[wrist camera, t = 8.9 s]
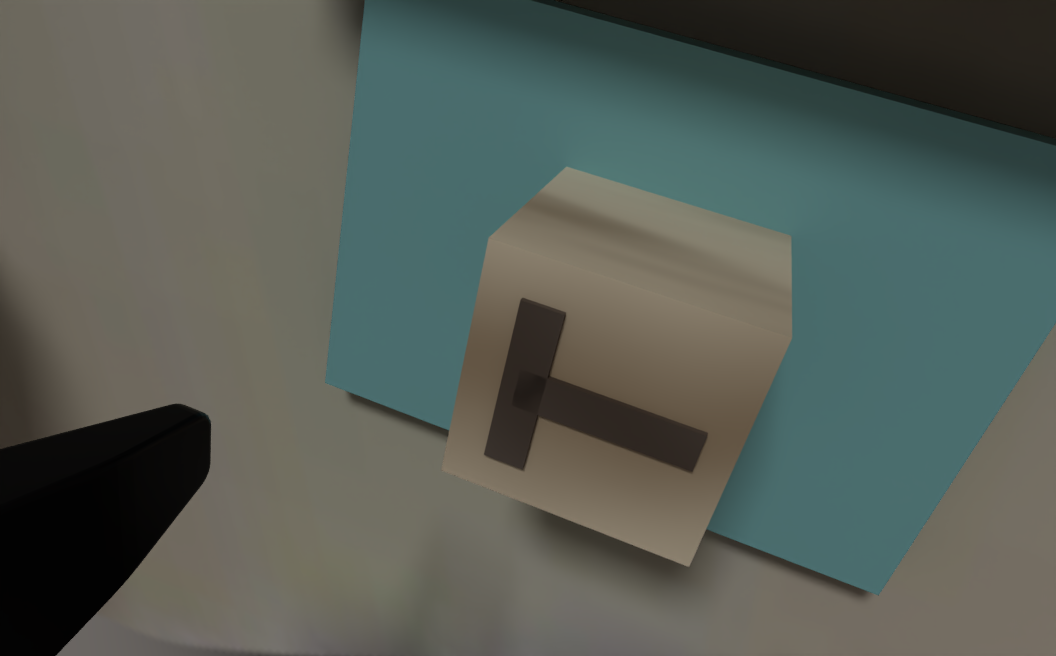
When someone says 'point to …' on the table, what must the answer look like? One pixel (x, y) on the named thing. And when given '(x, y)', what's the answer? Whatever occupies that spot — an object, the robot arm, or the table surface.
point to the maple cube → (620, 359)
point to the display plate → (726, 188)
